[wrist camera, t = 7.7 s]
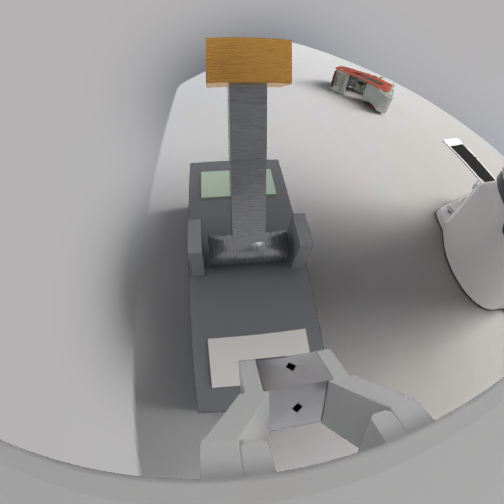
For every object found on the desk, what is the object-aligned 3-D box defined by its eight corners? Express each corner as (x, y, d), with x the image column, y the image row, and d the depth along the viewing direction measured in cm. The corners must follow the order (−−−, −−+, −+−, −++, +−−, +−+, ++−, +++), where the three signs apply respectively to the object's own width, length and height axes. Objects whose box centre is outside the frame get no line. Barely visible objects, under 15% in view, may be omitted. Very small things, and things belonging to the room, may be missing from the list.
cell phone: (455, 139, 46) (457, 137, 45) (503, 192, 39) (504, 190, 38) (441, 141, 44) (442, 139, 43) (493, 200, 37) (495, 198, 36)
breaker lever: (289, 268, 18) (296, 40, 11) (210, 274, 17) (199, 38, 11) (280, 249, 20) (284, 49, 14) (210, 254, 20) (201, 48, 13)
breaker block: (307, 398, 20) (351, 391, 12) (206, 410, 19) (190, 415, 11) (270, 201, 30) (282, 133, 22) (195, 205, 29) (187, 137, 21)
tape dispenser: (386, 91, 56) (315, 75, 52) (392, 74, 51) (320, 55, 48) (424, 129, 46) (346, 110, 42) (434, 109, 42) (355, 85, 38)
